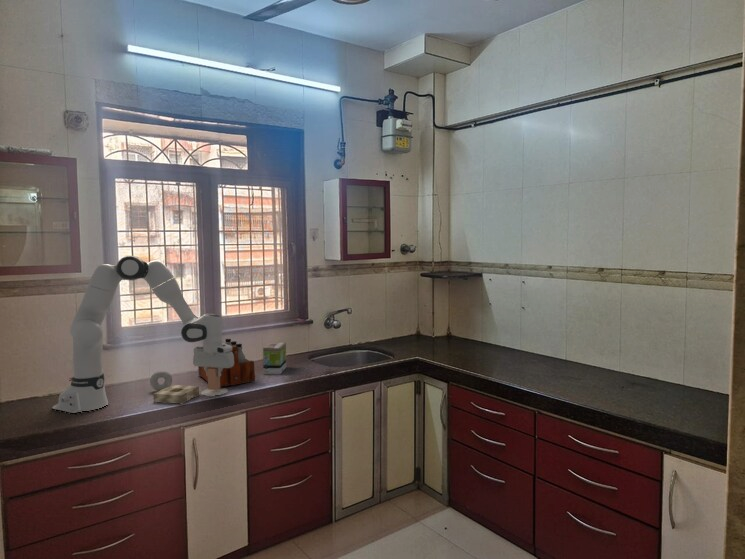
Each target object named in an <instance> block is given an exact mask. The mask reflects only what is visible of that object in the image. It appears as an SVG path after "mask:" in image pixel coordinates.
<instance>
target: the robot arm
mask: <svg viewBox="0 0 745 559" xmlns="http://www.w3.org/2000/svg"><path fill="white" fill-rule="evenodd" d="M139 279H143V280H144V281H145V282H146V283H147V284H148V286H149V287H150V289H151V290H152V292H153V294H154V295H155V297H157V299H158V300H160V301H161V302H163V303H164V304H167V305H169V306H170V307H171V308H172V309H173V310H174V311H175V313H176V314H177V316H178V317H179V319H180V320H181V322H182V325H183V326H182V328H181V332H180V334H181V337H182V339H183V340H184V341H185V342H187V343H196V342H200V341H202V346H195V347H194V348H193V358H192V365H194V367H198V366H202V367H204V370H205V371H206V376H208V368H209V367H218V370H219V372H218V373H216V374H217V377H220V376H221V372H222V370H223V368H231V367H233V366H234V355H233V353H232V352H231V351H232V346H230V345H227V344H225V342H224V343H223V338H222V335H223V325H222V324H223V323H222V322H223V321H222V318H221V317H220V315H218V313H213V312H212V313H211V312H208V313H207V312H206V313H204V314H203V315H202V316H200V317H198V316H196V314H194V312H193V311H192V309H191V308H190V306H189V305H188V303H187V301H186V299H185V298H184V295H183V293H182V291H181V287H180V285H179V283H178V282H177V280H176V278H175V276H174V275H173V273H172V272H171V270H170V269H169V268H168V267H167V265H166V264H164V262H163V261H161V260H159V259H158V260H157V259H155V260H151V261H148V262H146V261H145V260H143V259H141V258H140V257H138V256H135V255H126V256H124V257H122V258H120V259H119V260H118V262H117V263H116V264H114V265H113V264H108V263H104V264H100V265H98V266H97V267H96V268H95V270H94V271H93V273H92V275H91V277H90V279H89V282H88V284H87V287H86V289H85V292H84V294H83V297H82V300H81V303H80V305H79V307H78V309H77V311H76V313H75V316H74V317H73V320H72V322H71V325H70V328H69V333H70V335H71V337H72V345H73V347H72V348H73V349H72V354H73V355H72V366H73V368H72V370H73V377H70V378H69V379H68V382H70V385H69V386H68V387H66V389H64V390H63V391H62V392H61V393H60V394H59V396H58V402H57V404H55V405H53V406H52V407H51V408H53V409H58V410H63V411H67V412H72V413H76V412H81V413H83V412H82V411H89V410H94V409H98V410H100V409H99V408H102V407H104V406H106V405H108V403H109V399H108V398H107V393H106V392H107V391H106V387H105V373H104V370H103V369H104V368H103V348H104V347H103V346H104V345H103V344H104V343H103V339H104V337H103V333H104V332H103V331H104V330H103V327H102V324H103V322H104V320H105V317H106V316H107V313H108V312H109V310H110V308H111V305H112V302H113V299H114V297H115V294H116V291H117V288H118V285H119V283H120V282H121V281H130V282H132V281H136V280H139ZM108 406H109V405H108ZM106 407H107V406H106ZM104 408H105V407H104ZM102 409H103V408H102ZM94 411H95V410H94ZM89 412H90V411H89Z"/></svg>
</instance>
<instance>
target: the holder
mask: <svg viewBox="0 0 745 559" xmlns="http://www.w3.org/2000/svg"><path fill="white" fill-rule="evenodd" d="M197 395H198V396H200V386H196V385H195V386H193V385H180V384H179V385H178V384H171V386H169V387H167V388H165V389H163V390H160V391H155V392H154V393H153V395H152V396H153V403H157V402H166V403H165V404H169V403H180V404H179V405H182V404H181V403H183V404H184V402H185V403H187V402H188V400H189V401H191V400H192V399H191V398H193V397H195V396H196V397H198V396H197ZM196 397H195V398H196ZM190 399H191V400H190ZM193 399H194V398H193ZM186 401H187V402H186Z"/></svg>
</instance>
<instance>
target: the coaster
mask: <svg viewBox="0 0 745 559" xmlns="http://www.w3.org/2000/svg"><path fill="white" fill-rule="evenodd" d="M227 391H228V389H227V388H225V387H220V388H219V389H217V390H208V388H206V389H204V390H202V391H201V393H200V394H201V396H203V395H206V396H205V397H216V396H215V395H220V396H222V395H221V394H223V395H225V394H224V393H226V392H227ZM227 393H228V392H227ZM227 393H226V394H227Z"/></svg>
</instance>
